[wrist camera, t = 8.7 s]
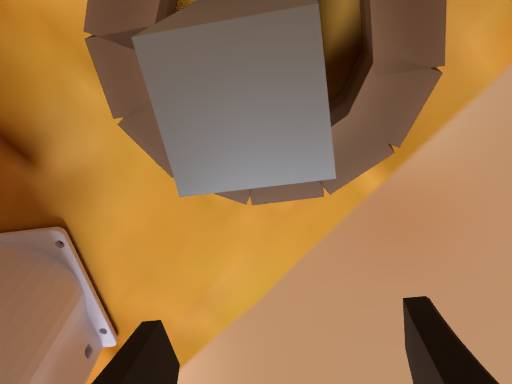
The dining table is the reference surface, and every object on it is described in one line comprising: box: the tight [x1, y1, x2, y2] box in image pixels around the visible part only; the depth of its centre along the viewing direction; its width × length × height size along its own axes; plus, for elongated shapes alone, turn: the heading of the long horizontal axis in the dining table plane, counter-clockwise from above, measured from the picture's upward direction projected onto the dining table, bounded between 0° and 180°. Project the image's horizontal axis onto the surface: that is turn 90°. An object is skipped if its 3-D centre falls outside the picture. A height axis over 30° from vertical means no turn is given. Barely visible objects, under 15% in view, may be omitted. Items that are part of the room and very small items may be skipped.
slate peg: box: [131, 0, 336, 197], centre depth 14 cm, size 4×4×10 cm
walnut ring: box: [84, 0, 446, 205], centre depth 17 cm, size 13×13×3 cm
